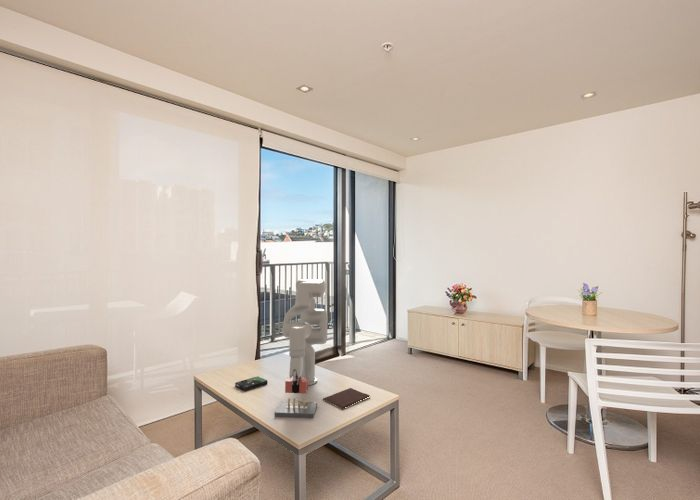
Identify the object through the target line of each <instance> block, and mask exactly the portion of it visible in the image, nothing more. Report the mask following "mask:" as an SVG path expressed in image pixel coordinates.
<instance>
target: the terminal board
mask: <svg viewBox="0 0 700 500" xmlns="http://www.w3.org/2000/svg"><path fill="white" fill-rule="evenodd" d="M317 408H318V402H317V401H316V402H314V401H313V402H310V401H306V398H303V401H301V398H298V399H297V401H296V398H294V397H293V399H292V401H291V398H290V397H289V398H287V401H284V400H283V401H280V403H279V405H278V406H277V408H276V409H275V411H274V417H276V418H296V419H299V418H300V419H302V418H303V419H314V418H315V414H316V412H317Z"/></svg>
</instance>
